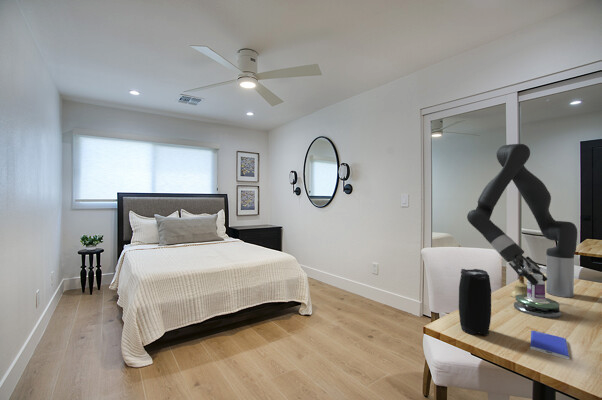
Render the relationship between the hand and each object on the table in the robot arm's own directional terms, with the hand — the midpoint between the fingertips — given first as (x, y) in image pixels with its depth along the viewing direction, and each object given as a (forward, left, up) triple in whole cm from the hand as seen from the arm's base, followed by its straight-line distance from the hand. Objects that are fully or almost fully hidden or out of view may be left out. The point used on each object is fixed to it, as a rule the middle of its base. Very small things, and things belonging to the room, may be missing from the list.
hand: (540, 282), depth 107 cm
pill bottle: (-1, -1, -7) cm, 7 cm away
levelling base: (-1, -1, -11) cm, 11 cm away
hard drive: (+31, -3, -12) cm, 33 cm away
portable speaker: (+32, -21, -11) cm, 40 cm away
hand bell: (-17, -4, -11) cm, 21 cm away
